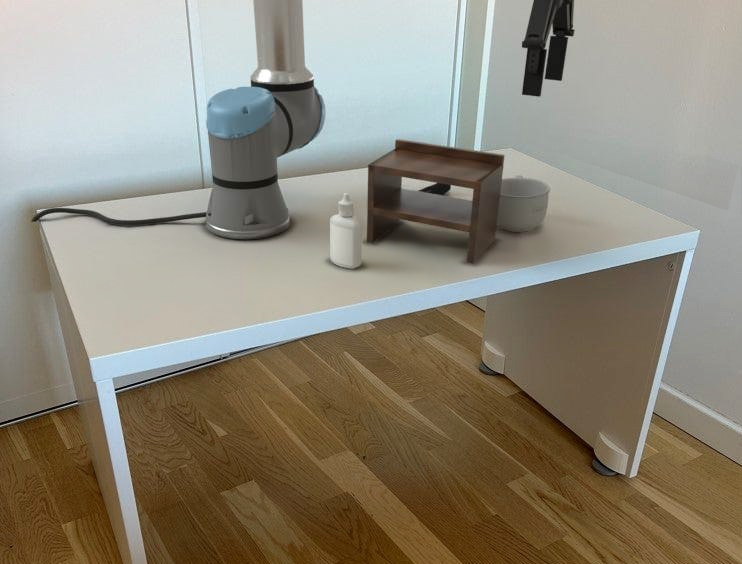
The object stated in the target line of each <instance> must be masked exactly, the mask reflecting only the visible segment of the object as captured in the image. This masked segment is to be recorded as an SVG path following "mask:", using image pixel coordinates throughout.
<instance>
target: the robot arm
mask: <svg viewBox="0 0 742 564" xmlns="http://www.w3.org/2000/svg"><path fill="white" fill-rule="evenodd" d="M252 1H253V3H252V4H253V16H254V17H253V18H254V32H255V46H256V59H257V68H255V70H254V71H253V73H252V74H251V75H250V86H238V87H235V88H228V89H225V90H221V91H219V92H217V93H215V94H214V95H212V96H211V97H210V98H209V100H208V101H207V104H206V119H205V124H206V130H207V137H208V147H209V159H210V169H211V179H212V188H211V191H210V196H209V200H208V205H207V210H206V211H204V212H203V211H202V212H196V213H186V214H179V215H173V216H165V217H155V218H146V219H132V220H131V219H129V220H128V219H116V218H110V217H107V216H105V215H103V214H102V213H100V212H97V211H95V210H91V209H79V208H69V207H51V208H46V209H44V210H42V211H40V212H38V213H36V214H35V215H34V216H33V217H32V218H31V220H30V222H31V223H34V222H38V221H39V220H40V219H41V218H43V217H45V216H47V215H51V214H60V213H61V214H64V213H65V214H74V215H86V216H92V217H95V218H97V219H99V220H101V221H102V222H105V223H107V224H111V225H115V226H116V225H117V226H142V225H151V224H160V223H161V224H162V223H170V222H178V221H185V220H192V219H193V220H194V219H202V218H205V224H206V229H207V230H208V231H209V232H210V233H212V234H213V235H216V236H218V237H221V238H227V239H232V240H258V239H264V238H270V237H273V236H276V235H279V234H280V233H283V232H285V231H286V230H287V229H288V228H289V227H290V224H291V222H290V212H289V209H288V208H287V204H286V200H285V198H284V195H283V193H282V191H281V188H280V185H279V177H278V175H279V174H278V158H280V157H282V156H285V155H286V154H289V153H291V152H294V151H296V150H300V149H302V148H304V147H306V146H308V145H309V144H310V143H311V142H313V141H314V140H315V139H316V138H317V137H318V136H319V135H320V133H321V131H322V130H323V127H324V125H325V122H326V116H327V115H326V113H327V112H326V104H325V101H324V97H323V96H322V94H320V93H319V90H318V88H316V87H315V76H314V74H313V73H312V72H311V71H310V70H309V69H308V67H306V57H305V54H306V53H305V34H304V31H305V30H304V6H303V5H304V4H303V0H252ZM531 6H532V7H531V9H530V10H531V11H530V15H529V19H528V23H527V28H526V31H525V36H524V38H523V40H522V43H521V48H522V49H527V51H526V57H525V65H524V66H525V67H524V74H523V82H522V89H521V95H523V96H530V97H538V98H541V96H542V90H543V83H544V80H550V81H557V82H561V81H563V75H564V70H565V69H564V68H565V62H566V55H567V48H568V41H569V37H571V38H572V37H574V36H575V31H576V30H575V29H573V28H574V14H575V13H574V10H575V0H533V2H532V5H531ZM551 29H552V35H550V32H551ZM549 37H550V38H549ZM548 40H549V44H548ZM547 44H548V49H547V48H546V47H547Z"/></svg>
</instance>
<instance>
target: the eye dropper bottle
mask: <svg viewBox="0 0 742 564" xmlns="http://www.w3.org/2000/svg"><path fill="white" fill-rule="evenodd" d="M354 203H355V202H354V201H352V200H351V199H350V196H349V193H348V192H344V193H343V195H342V199H341V200H339V201H338V205H337V209H338V211H337V212H338V213H336V214H334V215H333V216H331V218H330V219H329V260H330V261H331V263H332V264H334V265H336V266H338V267H340V268H343V269H350V270H354V269H356V268H359V267H361V265H362V264H363V262H362V261H363V259H362V257H363V225H362V222H361V220H359V218H358V217H356V216H355V215H354V206H355V205H354Z"/></svg>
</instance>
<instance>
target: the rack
mask: <svg viewBox="0 0 742 564" xmlns="http://www.w3.org/2000/svg"><path fill="white" fill-rule="evenodd" d="M505 157H506V156H505V154H501V153H495V152H489V151H481V150H475V149H467V148H461V147H454V146H447V145H441V144H434V143H426V142H420V141H414V140H407V139H402V138H401V139H400V138H397V139H395V141H394V148H393V149H391V150H390V151H388V152H387V153H385V154H383V155H382V156H380V157H378V158H377V159H375V160H373V161H371V162H370V163H368V164H367V202H366V203H367V205H366V207H367V208H366V209H367V211H366V212H367V213H366V243H369V244H374V243H375V242H377V241H378V240H379V239H380V238H381V237H382V236H384V235H386V234H387V233H388V232H390V231H391V230H392V229H393V228H394V227H395V226H397V225H399V223H401V220H402V221H405V222H406V221H407V222H411V223H412V222H413V223H418V224H423V225H428V226H433V227H438V228H442V229H443V228H444V229H449V230H454V231H458V232H465V233H468V244H467V254H466V255H467V256H466V263H467V264H472V265H474V263H476V261H477V260H478V259H479V258H480V257H481V256H482V255H483V254H484V253H485V252H486V251H487V250H488V248H489V247H490V246H491V245H492V244H493V243H494V242H495V241H496V236H497V235H496V234H497V228H498V227H497V225H498V224H497V218H498V209H499V200H500V191H501V183H502V179H503V172H504V165H505V164H504V163H505ZM403 178H407V179H411V180H417V181H423V182H430V183H434V184H436V183H441V184H447V185H451V186H455V187H458V188H459V187H460V188H465V189H466V188H467V189H471V190H473V191H472V200H470V199H466V198H459V197H455V196H448V195H437V194H431V193H425V192H420V191H419V190H412V189H409V188H408V189H407V188H402V184H403V183H402V182H403Z"/></svg>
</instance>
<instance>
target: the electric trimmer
mask: <svg viewBox="0 0 742 564" xmlns="http://www.w3.org/2000/svg"><path fill="white" fill-rule="evenodd" d="M451 187H452V185H447V184H441V183H433V184H431V185H427V186H426V187H423V188H421V189H419V190H418V191H420V192H425V193H431V194H437V195H443V196H445V194H447V193H448V192H450V190H451V189H452V188H451Z"/></svg>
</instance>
